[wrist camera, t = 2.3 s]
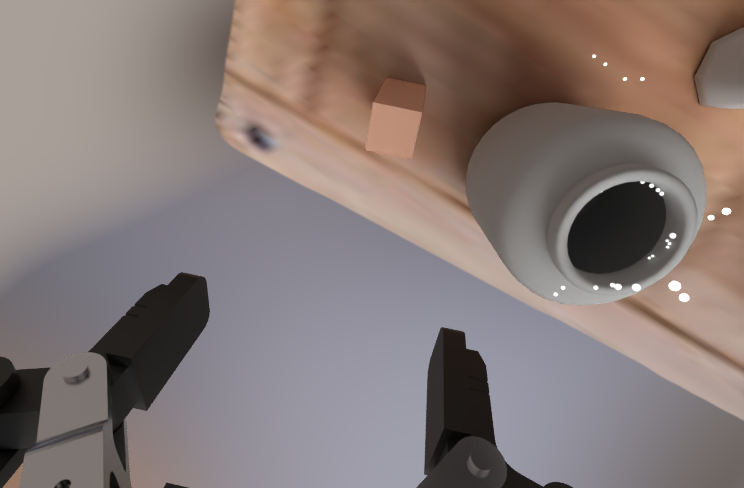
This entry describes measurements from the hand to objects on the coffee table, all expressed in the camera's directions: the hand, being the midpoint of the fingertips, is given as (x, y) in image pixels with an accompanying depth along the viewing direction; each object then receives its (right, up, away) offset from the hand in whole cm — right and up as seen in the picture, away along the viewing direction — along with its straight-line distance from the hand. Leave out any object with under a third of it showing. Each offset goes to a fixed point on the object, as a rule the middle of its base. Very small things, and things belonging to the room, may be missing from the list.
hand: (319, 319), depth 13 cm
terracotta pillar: (+5, +17, +28) cm, 33 cm away
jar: (+20, +12, +28) cm, 37 cm away
